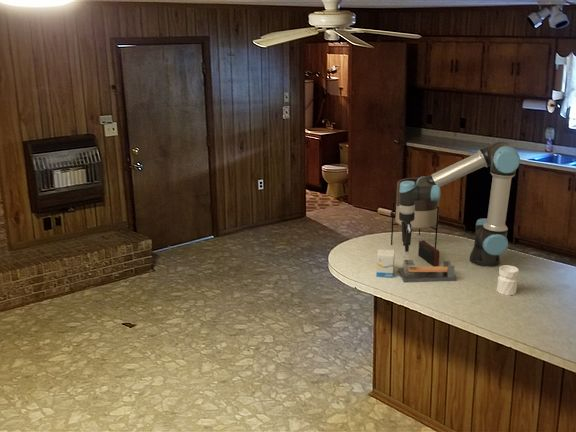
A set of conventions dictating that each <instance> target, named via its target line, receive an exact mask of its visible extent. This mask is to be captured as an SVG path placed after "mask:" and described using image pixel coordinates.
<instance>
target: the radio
mask: <svg viewBox="0 0 576 432" xmlns="http://www.w3.org/2000/svg"><path fill="white" fill-rule="evenodd" d="M428 242H432V240H430V239H429V240H426V239H425V240H418V254H417V255H418V257H419V258H420V259H422V260H424V261H425V262H426V263H428V264H429V265H430V266H431V267H440V265H439V264H440V253H441V251H440V250H439V249H438V248H437V247H436V248H435V246H433V245H431V244H430V243H428Z"/></svg>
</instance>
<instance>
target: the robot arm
mask: <svg viewBox="0 0 576 432" xmlns="http://www.w3.org/2000/svg"><path fill="white" fill-rule="evenodd" d="M520 163H521V157H520V155H519V153H518V151H517V150H516V148H515V147H512V146H511V145H510V144H509V143H507V142H504V141H496V142H493V143H491V144H489V145H486V146H484V147H482V148H480V149H478V150H477V152H476V153H474V154H472V155H469V156H468V157H466V158H464V159H461V160H459V161H457V162H455V163H453V164H451V165H449V166H447V167H444V168H442V169H440V170H438V171H436V172H434V173H431V174H430V175H427V176H424V175H423V176H420V177H418V178H419V179H418V180H417V182H416V185H415V182H413V181H403V182H401V183H400V190H399V191H400V192H399V205H400V206H398V208H399V211H400V213H399V220H401V221H403V222H401V224H402V226H401V242H402V257H403V258H409V257H410V246H411V244H412V243H411V241H412V233H413V228H411V224H410V222H411V221H413V220H414V219H415V213H414V212H415V201H435V200H439V201H440V199H441V187H442V186H445V185H447V184H449V183H451V182H453V181H455V180H457V179H459V178H460V179H461V178H462V177H464V176H466V175H468V174H470V173H474V172H475V171H478V170H479V169H481V168H484V167H485V168H488V167H490V170H489V173H490V174H491V176H492V178H491V179H492V182H491V188H490V194H489V195H490V196H489V203H488V211H487V218H479V219H477V220H476V221H475V222H476V223H475V232H474V245H473V248H472V249H471V250H472V251H471V252H470V254H469V262H470V263H472V264H473V263H474V264H473V265H475V264H476V265H475V266H479V267H485V266H490V267H491V266H492V267H496V266H499V264H500V263H501V258H500V255H502V254H504V253H505V252H506V251H507V250H508V248H509V241H508V238H507V236H508V230H509V228H508V227H507V225H506V221H507V213H508V208H509V207H508V206H509V198H510V191H511V185H512V178H514V177H515V176H516V172H517V171H516V170H517V169H518V168H519V166H520ZM490 267H489V268H490Z"/></svg>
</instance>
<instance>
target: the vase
mask: <svg viewBox="0 0 576 432" xmlns="http://www.w3.org/2000/svg"><path fill="white" fill-rule="evenodd" d="M519 274H520V270H519V268H518V267H517V266H514V265H508V264H506V265H501V266H499V267H498V276H497V286H496V292H497V291H498V292H499V293H501V294H505V295H511V294H514V293H516V294H517V288H518V278H517V277H518V276H519Z"/></svg>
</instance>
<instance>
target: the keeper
mask: <svg viewBox="0 0 576 432" xmlns="http://www.w3.org/2000/svg"><path fill="white" fill-rule="evenodd" d="M402 265H403V267H402V268H403V273H404V275H414V272H409V270H408V267H415V266H416V264H415V263H414V260H413V259H404V260H403V264H402Z"/></svg>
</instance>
